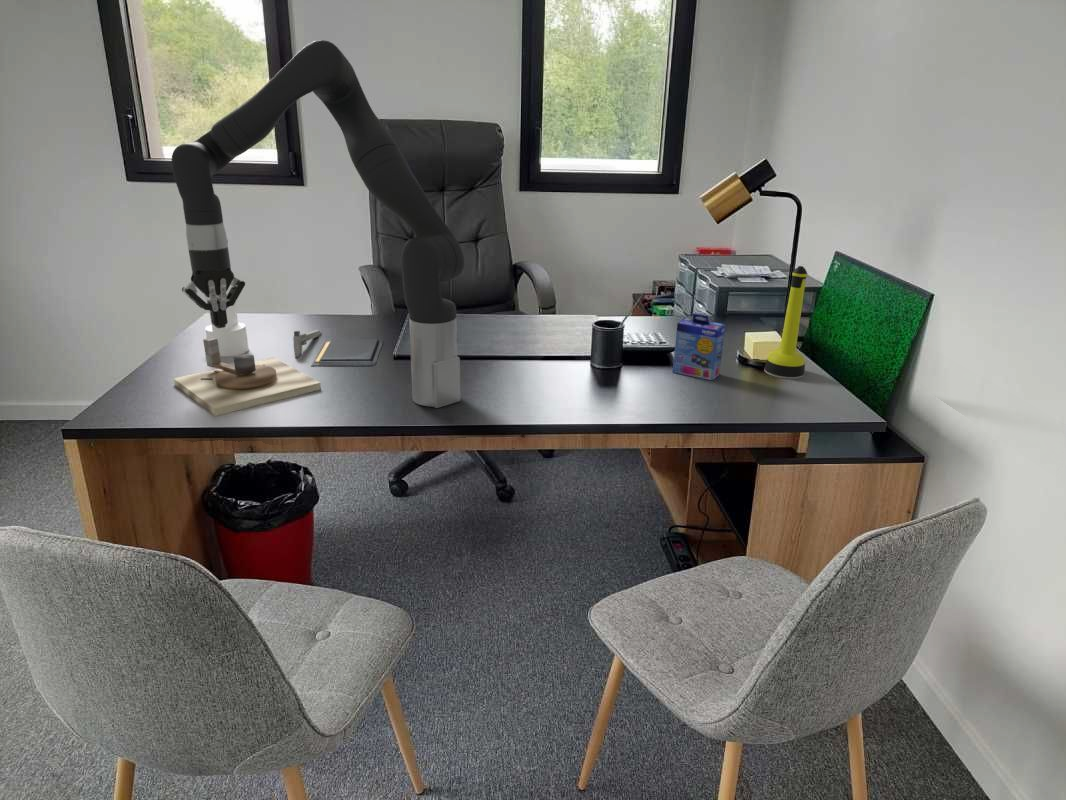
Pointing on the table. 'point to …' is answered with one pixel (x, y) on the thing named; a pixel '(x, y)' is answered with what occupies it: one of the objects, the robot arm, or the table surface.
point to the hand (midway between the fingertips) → (220, 327)
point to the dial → (237, 369)
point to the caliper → (303, 340)
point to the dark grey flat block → (348, 353)
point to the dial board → (236, 399)
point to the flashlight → (790, 334)
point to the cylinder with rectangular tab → (230, 335)
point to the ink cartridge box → (698, 347)
